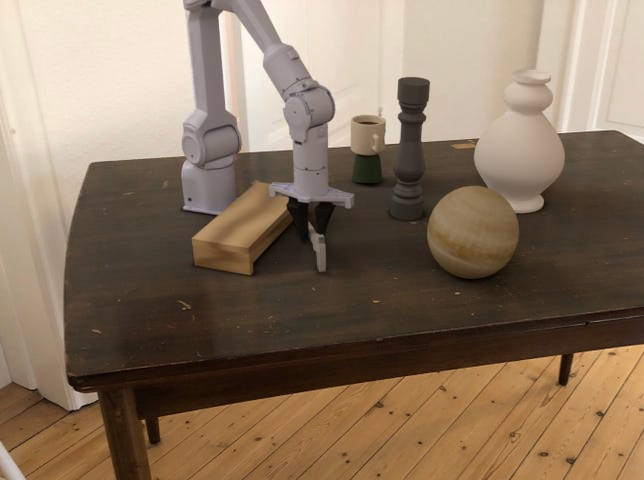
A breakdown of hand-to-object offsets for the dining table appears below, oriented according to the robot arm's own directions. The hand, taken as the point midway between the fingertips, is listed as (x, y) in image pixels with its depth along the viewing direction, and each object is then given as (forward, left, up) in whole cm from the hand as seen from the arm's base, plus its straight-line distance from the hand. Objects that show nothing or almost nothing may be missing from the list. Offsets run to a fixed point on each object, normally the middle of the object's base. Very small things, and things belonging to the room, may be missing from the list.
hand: (312, 239), depth 130 cm
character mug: (0, +33, -2) cm, 33 cm away
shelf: (-11, 0, -2) cm, 11 cm away
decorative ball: (+28, 0, -2) cm, 28 cm away
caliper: (0, 0, -2) cm, 2 cm away
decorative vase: (+31, +34, -2) cm, 46 cm away
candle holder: (+12, +20, -2) cm, 23 cm away
